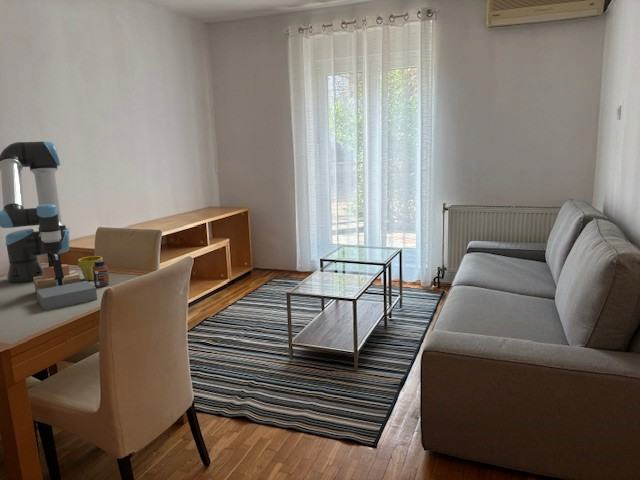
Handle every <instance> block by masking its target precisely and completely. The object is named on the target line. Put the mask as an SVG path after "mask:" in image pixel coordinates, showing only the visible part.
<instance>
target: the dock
mask: <svg viewBox="0 0 640 480" xmlns="http://www.w3.org/2000/svg"><path fill="white" fill-rule="evenodd" d="M36 291H37V293H36V297H37V302H38V304H39V305H40V306H41V308H42V309H43V311H49V310H53V309H59V308H63V307H68V306H73V305H77V304H82V303H87V302H91V301H97V300H98V293H97V287H96V286H95V285H93V284H92V283H91V282H89V280H84V281H80V282H77V283H72V284H67V285H61V286H56V287H50V288H45V289H40V290H36Z"/></svg>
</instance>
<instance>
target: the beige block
mask: <svg viewBox="0 0 640 480" xmlns="http://www.w3.org/2000/svg"><path fill="white" fill-rule="evenodd" d="M69 274H70V275H65V276H64V278H63V282H64V285H67V284H72V283H77V282H81V277H80V274H79V273H78V272H76V270H69ZM54 278H56V277H54ZM54 278H48V279H45V278H44V276H38V277H33V279H34V280H33V285H34V291H35V293H36V294H37V291H36V290H40V289H45V288H50V287H56V280H54Z"/></svg>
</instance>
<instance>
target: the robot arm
mask: <svg viewBox="0 0 640 480" xmlns="http://www.w3.org/2000/svg"><path fill="white" fill-rule="evenodd" d="M59 166H61V162H60V157H59V153H58V151H57V148H56V145H55V143H54V142H52V141H20V142H19V141H16V142H13V143H10V144H8V146H6V147H5V148H4V149H3V150H2V151H1V153H0V175H1V176H0V177H1V178H0V179H1V189H2V190H1V192H2V210H0V228H1V229H14V228H19V227H31V226H32V227H33V226H34V227H35V226H38V230H37V231H35V230H34V229H33V228H25V229H20V230H16V231H12V232H9V233H8V234H7V235H6V236H5V246H6V250H7V257H8V263H9V266H8V271H7V276H6V277H7V282H9V283H25V282H26V283H27V282H32V281H33V282H34V279H33V277H38V276H43V270H42V268H43V267H42V265H41V264H40V262H39V258H38V256H45V255H47V261H48V262H47V263H48V267H52V266H53V267H54V272H55V276H56V278H54V280H56V286H61V285H64V282H63V278H64V275H63V270H62V265H63V264H62V261H61V255H60V254H62V253H66V252H68V251H70V228H68V227H67V226H66V224H65V223H63V222H62V216H61V215H62V214H61V208H60V203H59V196H58V195H59V194H58V188H57V187H58V186H57V180H56V172H57V171H58V170H59V169H58V167H59ZM23 168H29V171H30V172H31V173H32V174H34V180H35V187H36V195H37V201H38V205H36V207H34V208H33V207H32V208H25V205H24V195H23V182H22V172H21V171H22V170H23ZM58 275H60V276H58Z"/></svg>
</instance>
